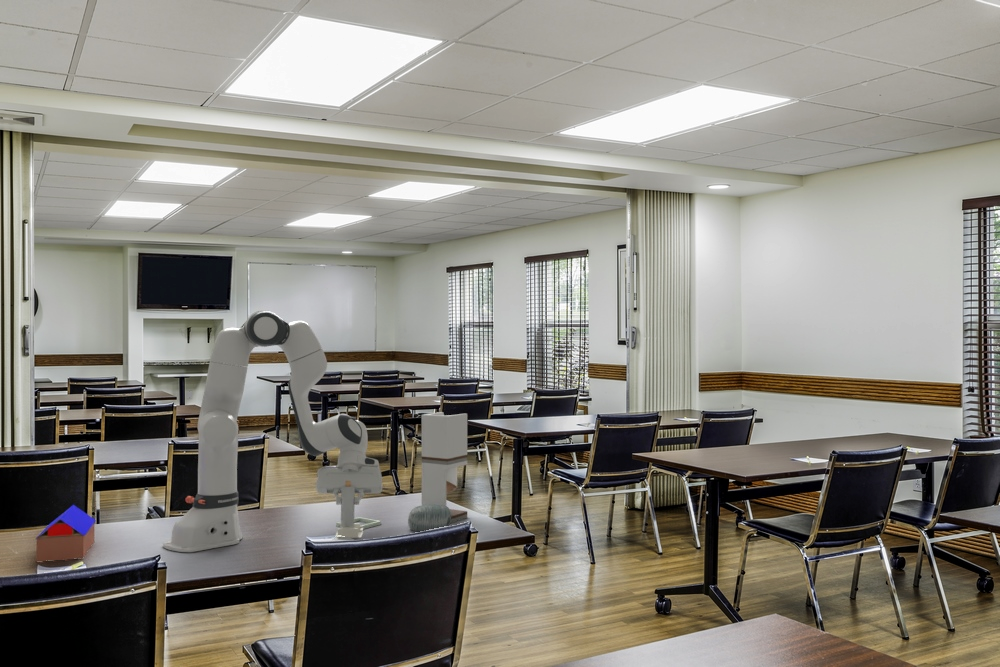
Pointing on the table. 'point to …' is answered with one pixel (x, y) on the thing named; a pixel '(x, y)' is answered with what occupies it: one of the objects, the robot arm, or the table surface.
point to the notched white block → (442, 457)
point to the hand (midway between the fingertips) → (347, 503)
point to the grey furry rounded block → (429, 517)
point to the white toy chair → (351, 531)
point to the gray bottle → (347, 505)
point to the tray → (370, 521)
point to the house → (66, 536)
